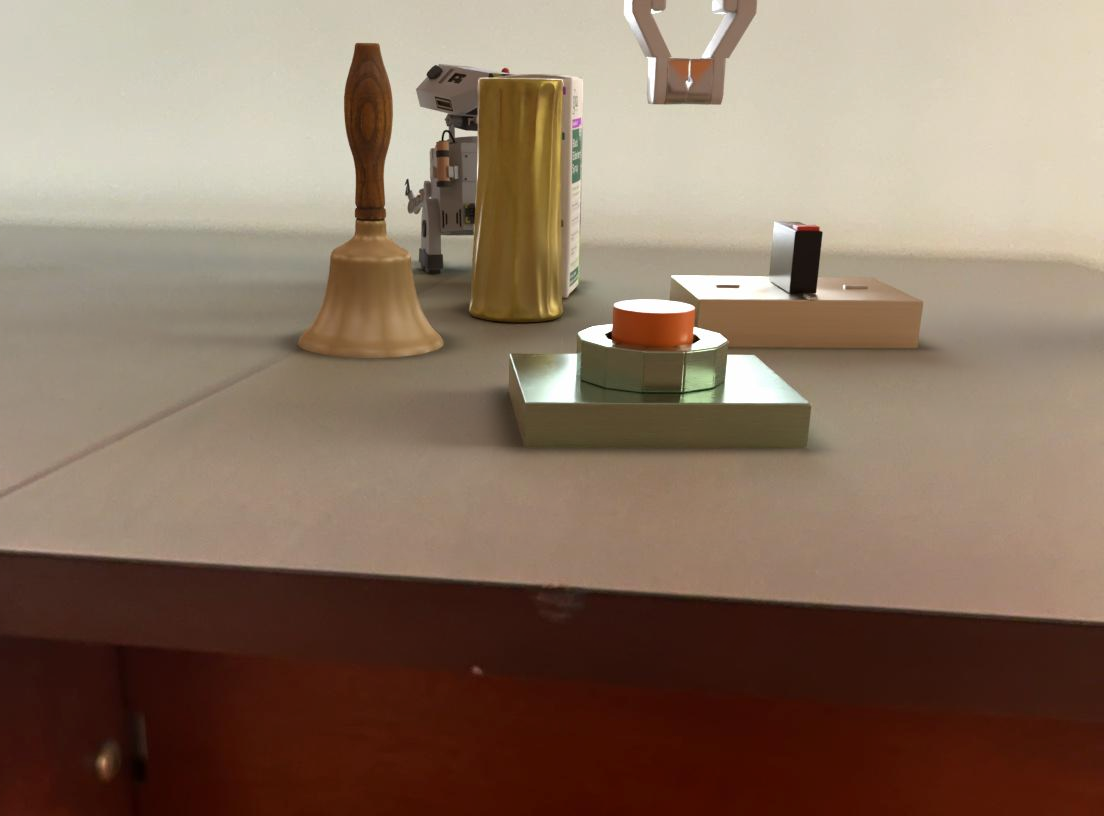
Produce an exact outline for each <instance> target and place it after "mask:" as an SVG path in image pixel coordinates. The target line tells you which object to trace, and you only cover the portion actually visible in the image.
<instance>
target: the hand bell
mask: <svg viewBox="0 0 1104 816" xmlns="http://www.w3.org/2000/svg"><path fill="white" fill-rule="evenodd" d="M393 101H394V100H393V93H392V86H391V82H390V79H389V74H388V72H387V70H386V66H385V63H384V59H383V55H382V51H381V45H380V44H379V43H376V42H356V43H355V44H354V50H353V55H352V60H351V64H350V66H349V70H348V74H347V77H346V81H345V85H344V95H343V115H344V116H343V117H344V126H345V132H346V133H345V134H346V137H347V143H348V146H349V149H350V152H351V155H352V158H353V164H354V171H355V193H354V195H355V196H354V205H355V208H354V218H355V220H354V221H355V222H354V223H355V226H354V234H353V236H352V237H351V238H350V239H349V240H348V241H346V242H344V243H343V244H341V245H338V246H337V247H335V248H333V249H332V251H331V252H330V255H329V256H330V258H329V259H330V260H329V271H328V277H327V283H326V284H327V285H326V289H325V294H324V297H323V300H322V304H321V306H320V309H319V311H318V313H317V315H316V317H315V318H314V320H313V321H312V323H311V324H310V325H309V327H308V328H307V329H305V330H304V331H303V333H302V334H301V335H300V337H299V339H298V342H297V345H298V347H299V348H301V349H303V350H305V351H307V352H311V353H315V354H318V355H319V354H320V355H325V356H332V357H333V356H334V357H341V358H361V359H363V358H364V359H378V358H379V359H380V358H381V359H382V358H400V357H409V356H416V355H423V354H428V353H432V352H435V351H437V350H439V349H441V348H442V347H443V346H444V345H445V343H444V340H443V338H442V337H441V335H440V333H439V332H437V331H436V330H435V329H434V328H433V326H431V323H429V320H427V319H428V318H427V317H426V315H425V313H424V312H423V310H422V307H421V304H420V302H419V298H418V295H417V289H416V286H415V280H414V273H413V264H412V255H411V253H410V252H409V251H408V250H407V249H406V248H404V247H402V246H400V245H399V244H398V243H396V242H394V241H393V240H392V239H391V238H390V237H389V235H388V233H387V221H386V218H387V209H386V208H385V206H386V194H385V192H386V191H385V176H384V175H385V164H386V159H387V156H388V151H389V147H390V143H391V139H392V134H393V133H392V132H393V121H394V102H393Z"/></svg>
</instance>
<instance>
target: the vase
mask: <svg viewBox="0 0 1104 816" xmlns="http://www.w3.org/2000/svg"><path fill="white" fill-rule="evenodd" d="M562 104H563V80H562V79H531V78H479V80H478V131H477V136H478V137H477V189H476V204H475V224H474V235H473V241H472V262H471V281H470V282H471V284H470V300H469V307H468V312H469V313H470V315H471V316H473V317H475V318H478V319H481V320H486V321H490V322H491V321H492V322H500V323H519V324H520V323H539V322H540V323H541V322H547V321H553V320H556V319H557V320H558V318H560V317H561V316H562V315H563V313H564V307H563V297H562V292H561V289H562V238H561V169H562Z"/></svg>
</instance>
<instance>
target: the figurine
mask: <svg viewBox="0 0 1104 816" xmlns="http://www.w3.org/2000/svg"><path fill="white" fill-rule="evenodd" d="M509 75H516V74H514V73H510V69H509V68H508V67H504V68H502V69H501V70H500V71H498V70H492V69H485V68H481V67H475V66H468V65H461V64H460V65H459V64H445V63H442V64H441V63H439V64H435V65H433V66H432V67H431V68H429V70H428V71H427V72H426V77H425V78H424V79H423V81H422V82H421V83H420V84H419V85H418V86H417V87H416V88H415V92H416V96H417V101H418V104H419V107H420V108H423V109H424V108H425V109H428V110H432V111H436V112H440V113H444V114H446V116H445V118H444V122H445V125H446V127H448V129H444V130H443V131H442V134H441V140H438V141H435V145H434V147H432V148H430V150H429V179H430V180H424V181H423V188H420V189H419V190H418V193H419V194H416V196H415V194H414V192H413V190H411V188H410V187H411V186H410V179H409V178H406V179H405V183H404V186H406V187H405V192H404V196H406V197H407V199H408V202H407V212H408V214H410V215H411V214H414V215H419V213H420V212H421V221H420V225H421V226H420V248H419V249H418V250H419V251H418V263H419V264H420V268H421V269H422V270H423V271H424V270H425V272H426V273H427V274H441V273H442V270H444V255H443V253H442V236H455V237H457V236H458V237H459V236H462V237H463V236H474V224H475V204H476V189H477V137H478V135H471V136H470V135H469V136H458V137H456V130H455V129H459V130H463V131H467V132H478V80H479V78H493V77H501V76H509ZM446 133H448V139H446V140H445V134H446Z"/></svg>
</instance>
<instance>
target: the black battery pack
mask: <svg viewBox="0 0 1104 816" xmlns="http://www.w3.org/2000/svg"><path fill="white" fill-rule="evenodd" d="M820 229H821V227H820V226H819V225H816V224H807V223H806V224H805V223H803V222H801V221H773V230H772V238H771V251H770V262H769V272H768V276H769V280H770V281H771V282H773V283H774V284H776V285H778V286H779V287H781V288H783V289H784V290H786V291H787V292H789V293H816V291H817V281H818V277H819V271H820V261H821V252H822V251H821V250H822V242H823V234H824V233H823V231H822V230H820Z"/></svg>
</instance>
